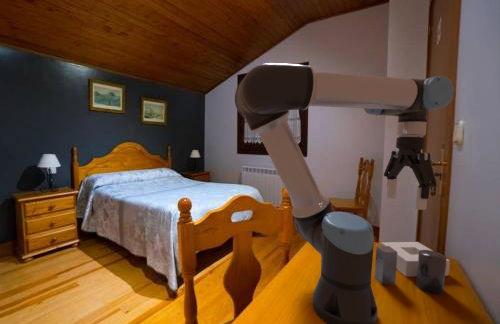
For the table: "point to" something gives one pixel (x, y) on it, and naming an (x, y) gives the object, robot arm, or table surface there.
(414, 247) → the socket block
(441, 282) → the cylinder
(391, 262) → the square bit
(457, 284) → the table surface
